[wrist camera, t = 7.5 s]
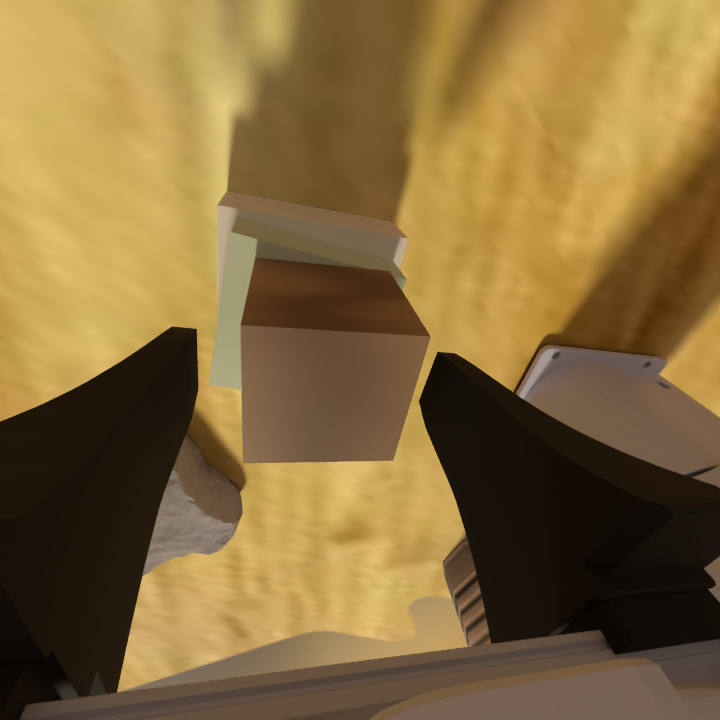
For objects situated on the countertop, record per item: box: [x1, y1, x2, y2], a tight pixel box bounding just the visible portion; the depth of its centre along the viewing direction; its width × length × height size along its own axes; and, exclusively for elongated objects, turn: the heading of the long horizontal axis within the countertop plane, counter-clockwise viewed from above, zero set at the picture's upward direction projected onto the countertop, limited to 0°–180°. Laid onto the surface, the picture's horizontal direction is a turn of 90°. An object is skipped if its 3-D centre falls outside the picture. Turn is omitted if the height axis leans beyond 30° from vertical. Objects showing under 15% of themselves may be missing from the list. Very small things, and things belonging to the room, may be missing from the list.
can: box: [443, 539, 491, 647], centre depth 31 cm, size 11×11×12 cm
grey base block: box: [217, 191, 408, 324], centre depth 16 cm, size 7×7×3 cm
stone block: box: [142, 435, 243, 576], centre depth 22 cm, size 12×5×10 cm
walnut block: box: [240, 258, 430, 463], centre depth 12 cm, size 4×4×4 cm
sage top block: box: [209, 216, 407, 390], centre depth 14 cm, size 6×6×2 cm
